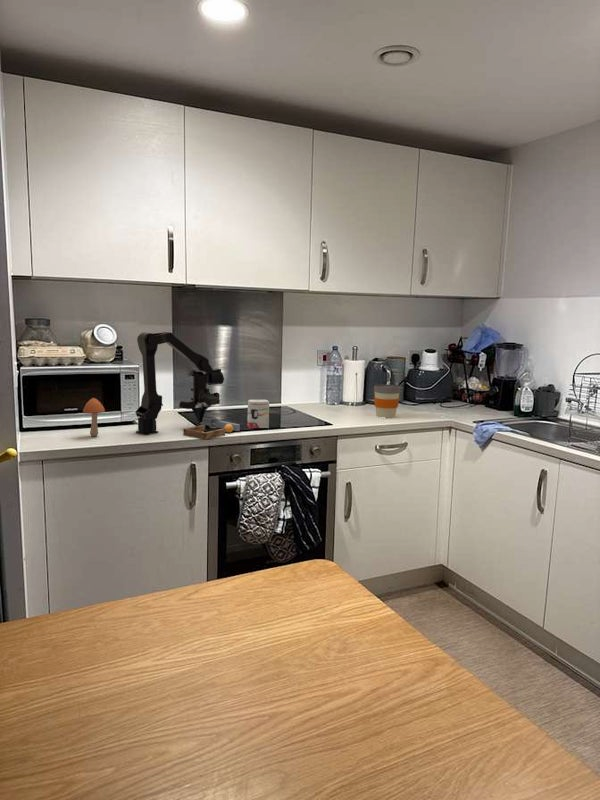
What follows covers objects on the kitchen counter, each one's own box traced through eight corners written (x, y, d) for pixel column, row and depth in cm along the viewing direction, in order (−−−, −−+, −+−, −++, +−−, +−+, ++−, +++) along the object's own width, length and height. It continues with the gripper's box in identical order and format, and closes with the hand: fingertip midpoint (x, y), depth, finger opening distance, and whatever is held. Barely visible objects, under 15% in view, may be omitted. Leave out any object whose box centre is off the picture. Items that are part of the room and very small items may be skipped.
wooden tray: (205, 439, 219) (205, 433, 219) (183, 435, 226) (183, 428, 226) (225, 435, 228) (225, 428, 228) (203, 430, 235) (203, 424, 234)
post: (214, 428, 239) (214, 422, 239) (207, 427, 242) (207, 421, 241) (221, 427, 243) (221, 421, 242) (214, 425, 245) (214, 420, 245)
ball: (229, 433, 230) (229, 425, 230) (222, 432, 232) (222, 423, 232) (235, 432, 233) (235, 423, 233) (228, 431, 235) (228, 422, 235)
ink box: (249, 429, 240) (249, 401, 238) (247, 426, 245) (247, 399, 243) (269, 428, 243) (269, 401, 241) (266, 426, 247) (267, 399, 245)
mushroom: (98, 433, 226) (97, 395, 223) (109, 436, 221) (108, 397, 218) (79, 436, 219) (78, 397, 217) (90, 439, 214) (89, 400, 212)
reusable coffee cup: (367, 415, 280) (369, 384, 278) (389, 413, 286) (390, 384, 283) (381, 419, 269) (383, 388, 267) (403, 418, 274) (405, 387, 272)
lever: (236, 431, 233) (236, 424, 233) (199, 424, 245) (199, 417, 245) (240, 430, 235) (240, 423, 235) (204, 423, 247) (204, 416, 247)
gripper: (197, 390, 229) (197, 428, 231) (229, 385, 244) (229, 421, 246) (178, 387, 235) (178, 424, 237) (210, 383, 250) (210, 418, 252)
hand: (200, 422), depth 243 cm, fingers closed
